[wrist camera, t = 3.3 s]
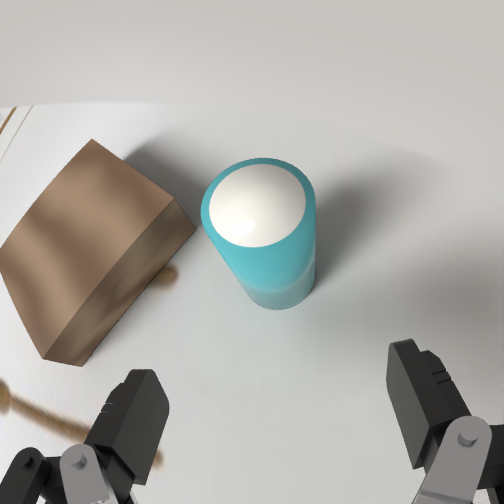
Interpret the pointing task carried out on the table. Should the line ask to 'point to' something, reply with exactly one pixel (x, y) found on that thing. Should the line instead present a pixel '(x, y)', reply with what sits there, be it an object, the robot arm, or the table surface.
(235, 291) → the table surface
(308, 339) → the table surface
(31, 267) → the wooden square base
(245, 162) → the tumbler
